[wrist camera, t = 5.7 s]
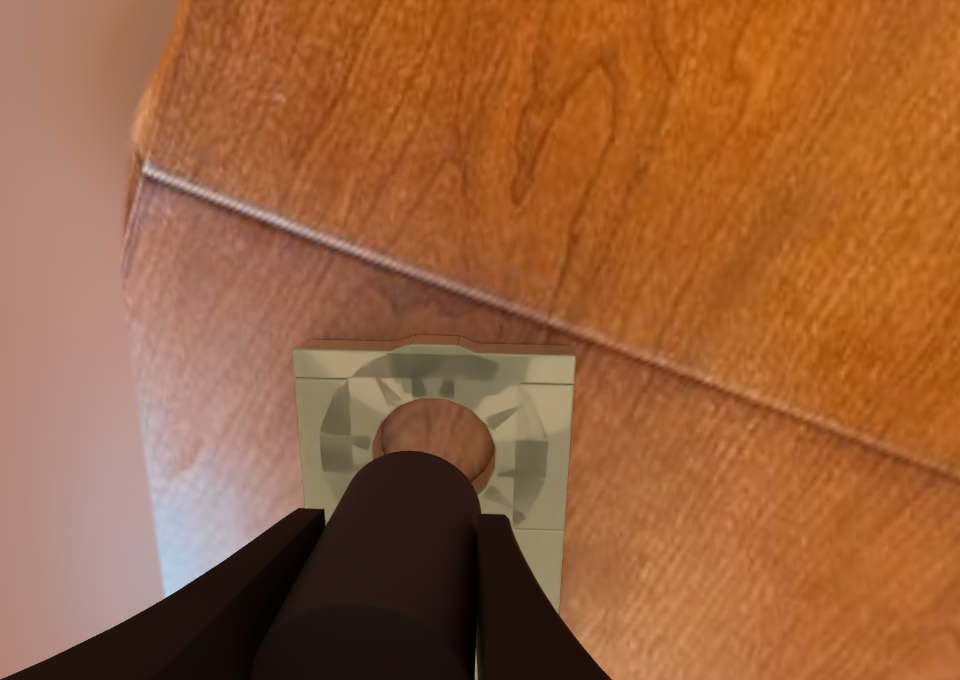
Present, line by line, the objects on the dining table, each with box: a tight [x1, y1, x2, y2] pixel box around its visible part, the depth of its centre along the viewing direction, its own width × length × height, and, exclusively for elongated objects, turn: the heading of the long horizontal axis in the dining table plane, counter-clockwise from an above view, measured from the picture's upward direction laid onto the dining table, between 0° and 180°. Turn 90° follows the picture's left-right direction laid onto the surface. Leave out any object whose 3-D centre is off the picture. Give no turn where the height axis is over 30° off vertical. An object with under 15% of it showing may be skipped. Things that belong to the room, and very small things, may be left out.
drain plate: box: [292, 335, 576, 680], centre depth 20 cm, size 20×10×2 cm, turn 179°
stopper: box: [250, 451, 481, 680], centre depth 10 cm, size 4×4×5 cm
